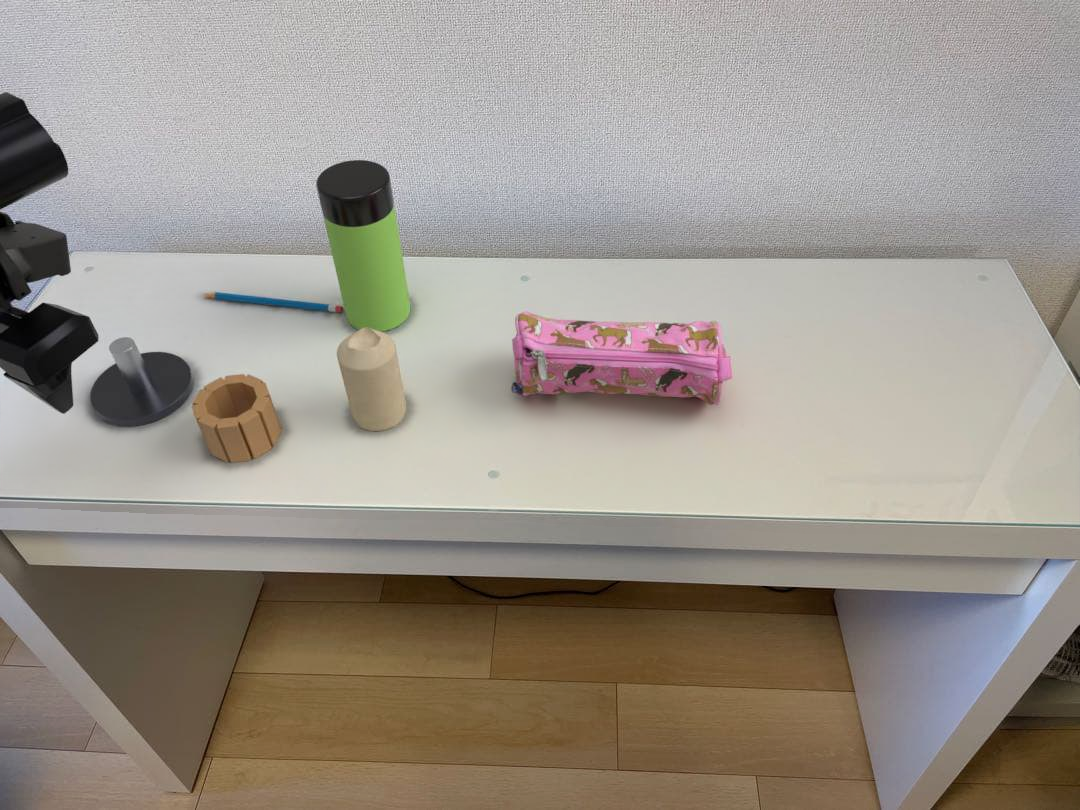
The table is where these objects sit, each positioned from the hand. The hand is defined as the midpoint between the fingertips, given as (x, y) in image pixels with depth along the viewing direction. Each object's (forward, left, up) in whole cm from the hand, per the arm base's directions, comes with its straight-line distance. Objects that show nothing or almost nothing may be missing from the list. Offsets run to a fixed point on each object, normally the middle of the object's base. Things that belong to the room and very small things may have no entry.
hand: (27, 392), depth 72 cm
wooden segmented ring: (+15, -1, -12) cm, 19 cm away
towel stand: (+7, +10, -12) cm, 17 cm away
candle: (+28, -4, -12) cm, 31 cm away
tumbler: (+33, +11, -12) cm, 37 cm away
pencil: (+22, +18, -12) cm, 31 cm away
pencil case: (+51, -12, -12) cm, 54 cm away
